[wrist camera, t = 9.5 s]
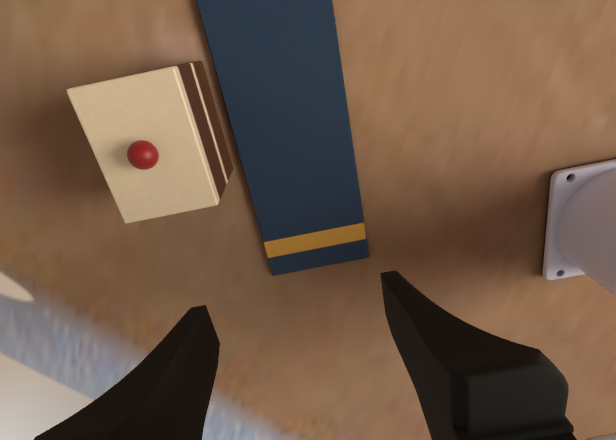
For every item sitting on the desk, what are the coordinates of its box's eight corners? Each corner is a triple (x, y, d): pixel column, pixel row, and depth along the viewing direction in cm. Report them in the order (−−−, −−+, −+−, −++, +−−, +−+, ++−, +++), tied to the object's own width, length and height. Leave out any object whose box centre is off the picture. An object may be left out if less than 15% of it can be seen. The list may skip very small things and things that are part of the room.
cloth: (304, -188, 16) (304, -192, 16) (368, 254, 25) (369, 257, 25) (155, -153, 16) (152, -157, 16) (272, 273, 25) (272, 276, 25)
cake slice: (202, 60, 20) (165, 67, 14) (233, 169, 22) (214, 215, 16) (120, 78, 20) (48, 92, 14) (161, 184, 22) (114, 235, 16)
